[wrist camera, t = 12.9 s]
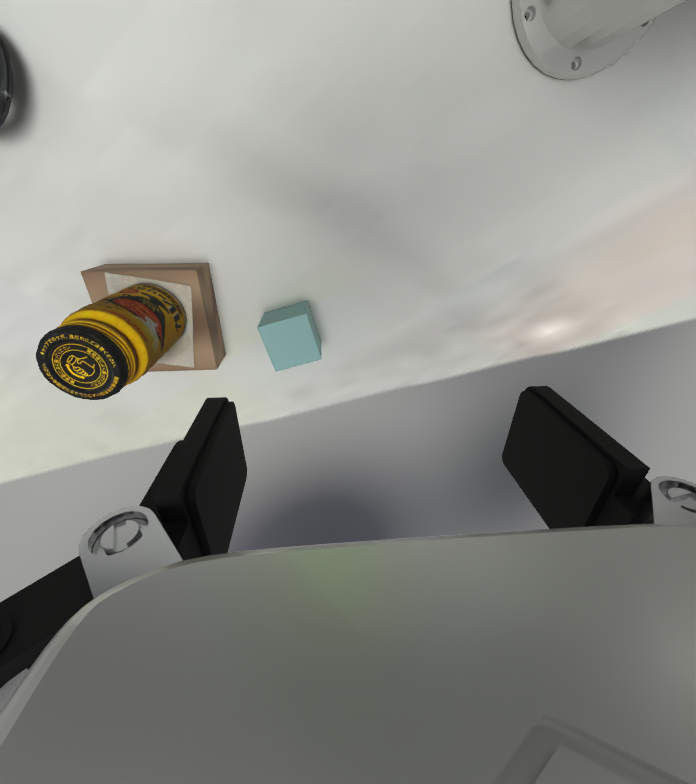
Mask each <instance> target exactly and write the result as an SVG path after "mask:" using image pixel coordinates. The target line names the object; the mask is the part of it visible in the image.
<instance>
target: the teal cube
mask: <svg viewBox="0 0 696 784" xmlns="http://www.w3.org/2000/svg"><path fill="white" fill-rule="evenodd" d="M257 328H258V331H259V333H260V336H261V338H262V340H263V343H264V345H265V347H266V350H267V352H268V355H269V357H270V359H271V362H272V364H273V366H274V369H275V371H276V372H277V371H280V370H284V369H287V368H291V367H295V366H298V365H302V364H305V363H309V362H312V361H316V360H320V359H321V341H320V338H319V334H318V331H317V328H316V325H315V322H314V319H313V316H312V313H311V310H310V307H309V304H308V301H304V302H301V303H297V304H294V305H290V306H287V307H283V308H280V309H276V310H273V311H270V312H266V313H264V314H263V316H262V319H261V321H260V323H259V325H258V327H257Z"/></svg>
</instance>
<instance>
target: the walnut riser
mask: <svg viewBox="0 0 696 784" xmlns="http://www.w3.org/2000/svg"><path fill="white" fill-rule="evenodd" d="M105 272H106V273H112V274H118V275H126V276H133V277H139V278H146V279H153V280H159V281H165V282H171V283H177V284H183V285H189V286H191V293H192V318H193V351H194V368H193V367H185V366H178V365H169V364H165V363H155V364H154V366H153V367H151V368H150V369H149V370H148V372H151V371H183V370H216V369H217V368H218V367H219V365H220V363H221V362H222V360H223V358H224V357H225V355H226V353H225V348H224V343H223V337H222V332H221V327H220V322H219V316H218V311H217V306H216V300H215V295H214V290H213V285H212V279H211V274H210V269H209V264H208V263H193V264H104V265H101V266H98V267H94V268H91V269H88V270H84V271H81V274H82V277H83V279H84V282H85V285H86V287H87V290H88V293H89V295H90V298H91V301H92V304H93V303H94V302H98V301H99V300H101V299H102V298H105V297H107V296H108V289H107V284H106V279H105Z"/></svg>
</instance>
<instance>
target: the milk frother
mask: <svg viewBox="0 0 696 784" xmlns="http://www.w3.org/2000/svg"><path fill="white" fill-rule="evenodd" d="M12 93H13V72H12V66H11V62H10V58H9V54H8V52H7V49H6V47H5V45H4V44H3V41H2V40H1V38H0V127H1V126H2V124H3V123H4V121H5V119H6V117H7V115H8V112H9V108H10V105H11V99H12Z"/></svg>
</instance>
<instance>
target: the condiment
mask: <svg viewBox="0 0 696 784" xmlns="http://www.w3.org/2000/svg"><path fill="white" fill-rule="evenodd" d="M105 279H106V284H107V289H108V296H107V297H105V298H102V299H101V300H99V301H98V302H94V303H93V304H89V305H88V306H85V307H83V308H81V309H79V310H78V311H76V312H74V313H72V314H70V315H69V316H68V317H67V318H66V319H65V320H64V321H63V322H62V324H61V325H60V326H59V327H57V328H56V329H54V330H51V331H49V332H48V333H47V334H45V335H44V337H43V338H42V339H41V340H40V342H39V345H38V349H37V352H36V359H37V362H38V366H39V369H40V371H41V372H42V374H43V375H44V377H45V378H46V379H47V380H48V381H49V382H50V383H51V384H53V385H54V386H56V387H57V388H59V389H60V390H62V391H64V392H66V393H68V394H70V395H72V396H74V397H77V398H82V399H90V400H100V399H105V398H108V397H110V396H112V395H114V394H116V393H118V392H120V390H121V389H122V388H123V387H124V386H126V385H127V384H131V383H132V382H134V381H136V380H138V379H139V378H140V377H141V376H143V375H144V374H146V373H147V372H148V370H149V369H150V368H151V367H153V366H154V364H155V363H165V364H169V365H178V366H185V367H193V368H194V351H193V318H192V293H191V286H189V285H183V284H177V283H171V282H165V281H159V280H153V279H146V278H139V277H133V276H126V275H118V274H112V273H106V272H105Z"/></svg>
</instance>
